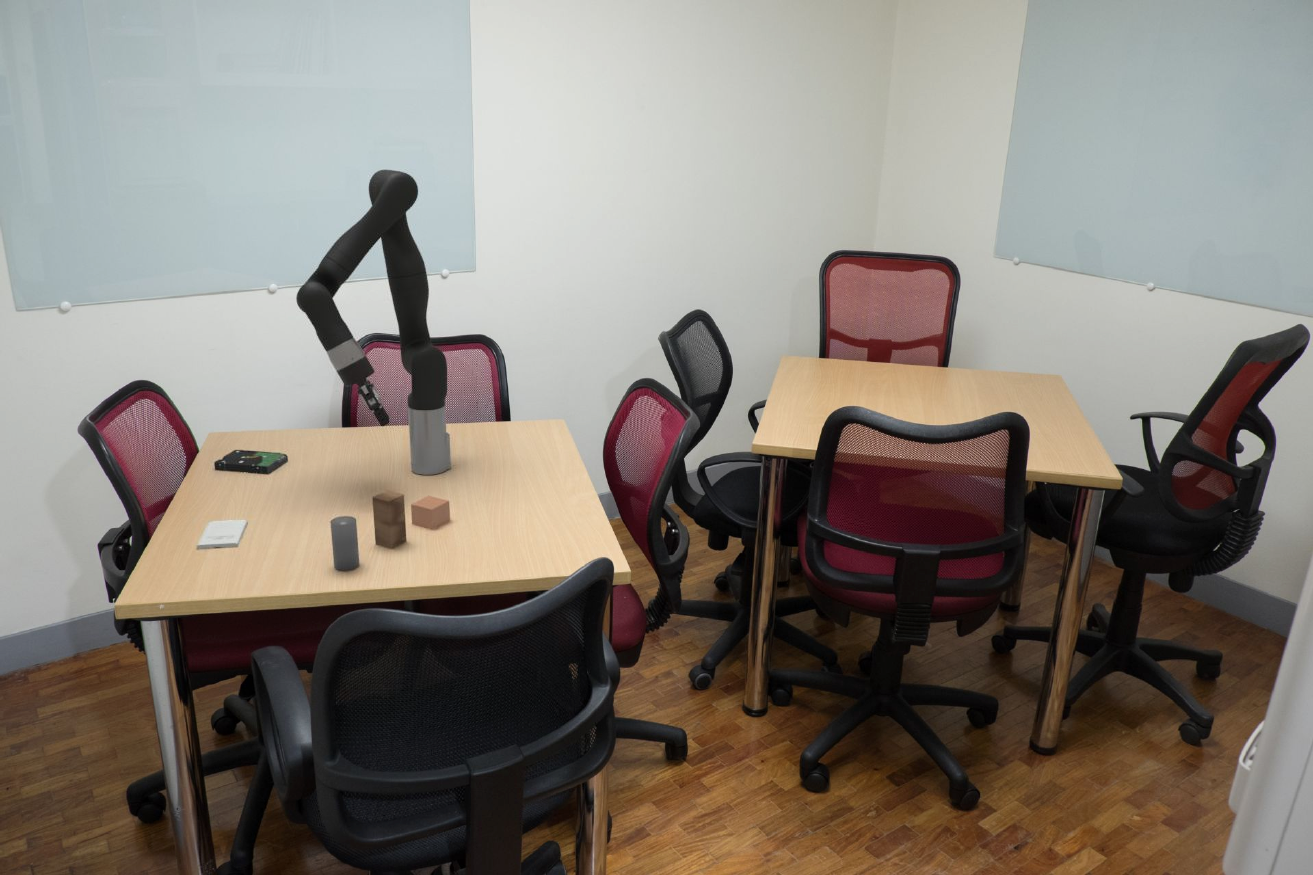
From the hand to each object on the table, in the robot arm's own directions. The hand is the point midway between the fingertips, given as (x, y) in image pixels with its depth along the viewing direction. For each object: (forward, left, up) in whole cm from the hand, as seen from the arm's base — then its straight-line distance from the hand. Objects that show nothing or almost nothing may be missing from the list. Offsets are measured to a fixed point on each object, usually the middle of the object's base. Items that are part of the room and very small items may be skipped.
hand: (385, 422), depth 236 cm
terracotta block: (-1, +19, -19) cm, 27 cm away
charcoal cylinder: (+23, +30, -19) cm, 42 cm away
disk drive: (+20, -39, -19) cm, 48 cm away
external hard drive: (+39, +1, -19) cm, 44 cm away
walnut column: (+11, +25, -19) cm, 33 cm away
